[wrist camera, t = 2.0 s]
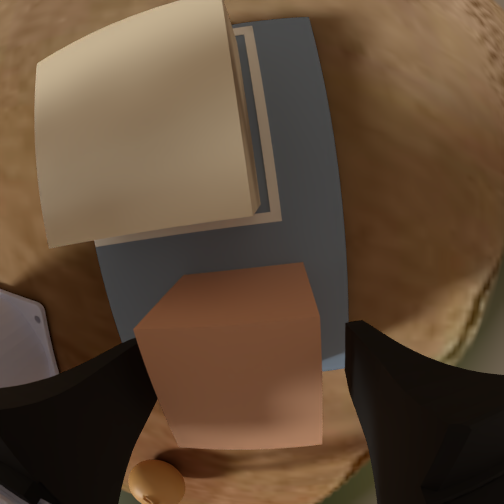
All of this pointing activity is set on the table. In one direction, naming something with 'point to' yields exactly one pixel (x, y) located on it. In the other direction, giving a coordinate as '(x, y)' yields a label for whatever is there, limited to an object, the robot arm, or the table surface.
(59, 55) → the maple base block
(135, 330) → the terracotta cube
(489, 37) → the table surface
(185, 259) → the mat
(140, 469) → the figurine
